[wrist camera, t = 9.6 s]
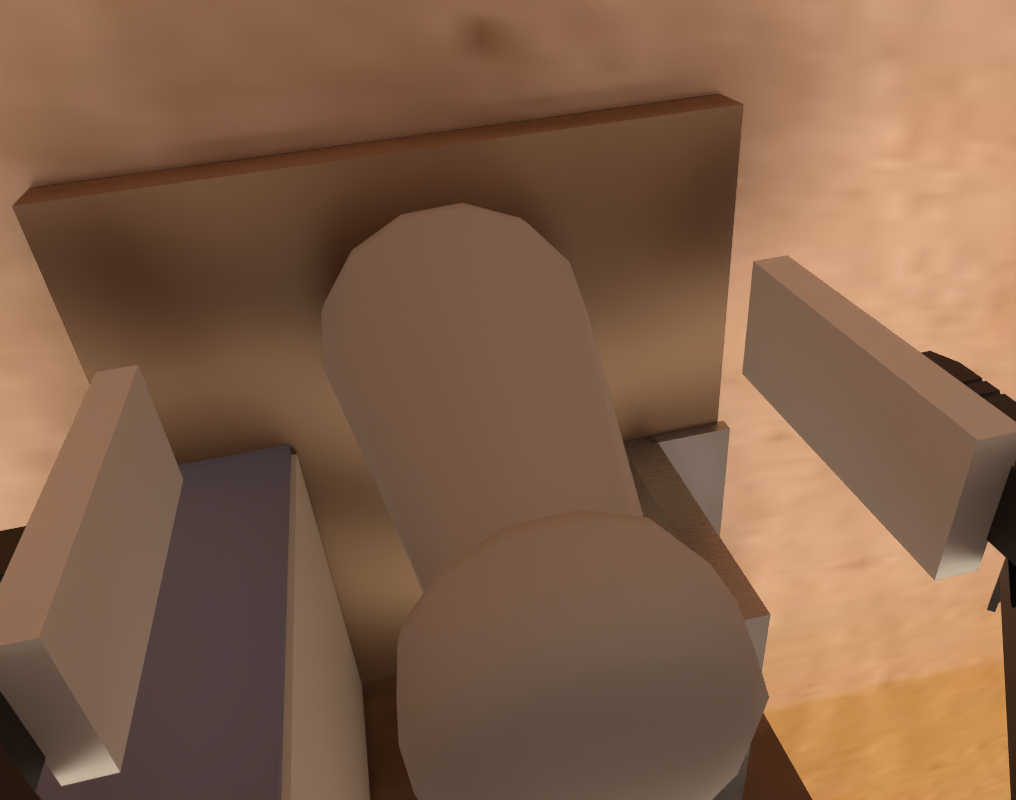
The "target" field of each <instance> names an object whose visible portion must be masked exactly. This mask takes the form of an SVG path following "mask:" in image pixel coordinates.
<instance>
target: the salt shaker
mask: <svg viewBox="0 0 1016 800" xmlns="http://www.w3.org/2000/svg"><path fill="white" fill-rule="evenodd" d="M321 318H322V346H323V368H324V371H325V373H326V375H327V377H328V379H329V382H330V384H331V386H332V388H333V390H334V393H335V395H336V397H337V399H338V401H339V404H340V406H341V408H342V410H343V412H344V415H345V417H346V419H347V421H348V423H349V426H350V428H351V430H352V432H353V434H354V437H355V439H356V441H357V443H358V445H359V448H360V450H361V452H362V454H363V456H364V459H365V461H366V463H367V465H368V467H369V470H370V472H371V474H372V476H373V478H374V481H375V483H376V485H377V487H378V489H379V492H380V494H381V496H382V498H383V500H384V503H385V505H386V507H387V509H388V511H389V514H390V516H391V518H392V520H393V522H394V525H395V527H396V529H397V531H398V533H399V536H400V538H401V541H402V543H403V546H404V548H405V551H406V553H407V555H408V558H409V560H410V563H411V565H412V568H413V570H414V573H415V575H416V578H417V580H418V582H419V585H420V587H421V590H422V592H423V595H422V596H421V598H420V599H419V601H418V602H417V603H416V605H415V606H414V608H413V609H412V611H411V612H410V613H409V615H408V616H407V618H406V619H405V620H404V623H403V626H402V629H401V633H400V636H399V639H398V644H397V693H396V699H397V720H398V741H399V747H400V751H401V754H402V757H403V760H404V763H405V766H406V770H407V773H408V776H409V779H410V782H411V785H412V789H413V792H414V795H415V796H416V797H417V799H418V800H712V799H713V798H714V797H715V796H716V795H717V794H718V793H719V792H720V791H721V790H722V789H723V788H724V787H725V786H726V785H727V784H728V783H729V782H730V781H731V780H732V779H733V778H734V777H735V776H736V775H737V774H738V772H739V770H740V767H741V765H742V762H743V760H744V758H745V755H746V753H747V751H748V748H749V746H750V744H751V741H752V739H753V736H754V734H755V732H756V729H757V727H758V724H759V722H760V719H761V716H762V714H763V711H764V709H765V706H766V704H767V701H768V699H769V696H768V692H767V689H766V685H765V682H764V679H763V675H762V672H761V668H760V665H759V661H758V658H757V655H756V651H755V649H754V646H753V643H752V640H751V638H750V635H749V632H748V629H747V627H746V624H745V621H744V619H743V616H742V613H741V610H740V608H739V605H738V602H737V601H736V599H735V598H734V596H733V595H732V594H731V592H730V591H729V589H728V588H727V586H726V585H725V584H724V582H723V581H722V579H721V578H720V577H719V575H718V574H717V572H716V571H715V570H714V568H713V567H712V565H711V564H710V563H709V562H707V561H706V560H705V559H703V558H702V557H701V556H699V555H698V554H697V553H695V552H694V551H692V550H691V549H690V548H688V547H687V546H686V545H684V544H683V543H682V542H680V541H679V540H678V539H676V538H675V537H674V536H672V535H671V534H669V533H668V532H667V531H665V530H664V529H663V528H661V527H660V526H659V525H657V524H656V523H655V522H653V521H652V520H651V519H649V518H646V517H644V516H643V513H642V509H641V506H640V502H639V498H638V495H637V491H636V487H635V484H634V480H633V476H632V473H631V469H630V465H629V462H628V458H627V455H626V451H625V447H624V444H623V440H622V436H621V433H620V429H619V425H618V422H617V418H616V414H615V411H614V407H613V404H612V400H611V396H610V393H609V389H608V385H607V382H606V378H605V374H604V371H603V367H602V363H601V360H600V356H599V353H598V349H597V345H596V342H595V338H594V334H593V331H592V327H591V323H590V320H589V316H588V313H587V310H586V307H585V304H584V301H583V298H582V296H581V293H580V290H579V287H578V284H577V281H576V279H575V276H574V273H573V270H572V267H571V265H570V262H569V261H568V260H567V259H566V258H565V257H564V256H563V255H562V254H560V253H559V252H558V251H557V250H556V249H555V248H554V247H553V246H552V245H551V244H550V243H549V242H548V241H546V240H545V239H544V238H543V237H542V236H541V235H540V234H539V233H538V232H537V231H536V230H535V229H534V228H532V227H531V226H530V225H529V224H528V223H527V222H525V221H524V220H522V219H521V218H519V217H515V216H511V215H507V214H504V213H500V212H496V211H492V210H488V209H484V208H481V207H477V206H473V205H469V204H465V203H458V204H453V205H447V206H442V207H437V208H432V209H427V210H421V211H416V212H411V213H406V214H401V215H400V216H398V217H397V218H395V219H394V220H393V221H391V222H390V223H389V224H387V225H386V226H385V227H383V228H382V229H380V230H379V231H378V232H376V233H375V234H374V235H372V236H371V237H369V238H368V239H367V240H365V241H364V242H363V243H361V244H360V245H358V246H357V247H356V248H354V249H353V250H352V251H351V252H350V254H349V256H348V258H347V260H346V262H345V264H344V266H343V268H342V270H341V272H340V274H339V276H338V277H337V279H336V281H335V283H334V285H333V287H332V289H331V291H330V293H329V295H328V297H327V299H326V301H325V303H324V306H323V309H322V312H321Z"/></svg>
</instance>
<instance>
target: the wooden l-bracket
mask: <svg viewBox="0 0 1016 800" xmlns="http://www.w3.org/2000/svg"><path fill="white" fill-rule="evenodd" d="M742 113H743V104H741V103H739V102H737V101H735V100H732V99H730V98H728V97H726V96H724V95H721V94H718V95H711V96H703V97H696V98H689V99H681V100H674V101H667V102H659V103H652V104H645V105H637V106H630V107H623V108H615V109H608V110H601V111H593V112H586V113H579V114H571V115H564V116H557V117H549V118H542V119H535V120H527V121H520V122H513V123H505V124H498V125H491V126H483V127H476V128H469V129H461V130H454V131H447V132H439V133H432V134H425V135H417V136H410V137H403V138H395V139H388V140H381V141H373V142H366V143H359V144H351V145H344V146H337V147H329V148H322V149H315V150H307V151H300V152H293V153H285V154H278V155H271V156H263V157H256V158H249V159H241V160H234V161H227V162H219V163H212V164H205V165H197V166H190V167H183V168H175V169H168V170H161V171H153V172H146V173H139V174H131V175H124V176H117V177H110V178H102V179H95V180H88V181H80V182H73V183H66V184H58V185H51V186H44V187H36V188H29V189H28V190H27V191H26V192H25V193H24V194H23V195H22V196H21V197H20V198H19V199H18V200H17V201H16V202H15V204H14V205H13V206H12V207H13V209H14V211H15V214H16V216H17V218H18V221H19V223H20V225H21V227H22V230H23V232H24V234H25V237H26V239H27V241H28V244H29V246H30V248H31V250H32V253H33V255H34V257H35V260H36V262H37V264H38V266H39V269H40V271H41V273H42V276H43V278H44V280H45V282H46V285H47V287H48V289H49V292H50V294H51V296H52V298H53V301H54V303H55V305H56V308H57V310H58V312H59V314H60V317H61V319H62V321H63V324H64V326H65V328H66V331H67V333H68V335H69V337H70V340H71V342H72V344H73V347H74V349H75V351H76V353H77V356H78V358H79V360H80V363H81V365H82V367H83V369H84V372H85V374H86V376H87V379H88V381H89V383H90V384H91V382H92V379H93V377H94V375H95V373H96V372H99V371H104V370H110V369H116V368H122V367H128V366H134V365H139V367H140V370H141V372H142V375H143V378H144V380H145V383H146V385H147V388H148V390H149V393H150V395H151V398H152V401H153V403H154V406H155V408H156V411H157V413H158V416H159V419H160V421H161V424H162V426H163V429H164V431H165V434H166V436H167V439H168V442H169V444H170V447H171V449H172V452H173V454H174V457H175V460H176V462H177V465H181V464H187V463H192V462H197V461H203V460H208V459H214V458H219V457H224V456H230V455H235V454H240V453H246V452H251V451H256V450H262V449H267V448H273V447H278V446H283V445H290V449H291V452H292V455H293V454H297V456H298V460H299V463H300V467H301V471H302V474H303V478H304V481H305V485H306V488H307V492H308V495H309V499H310V502H311V506H312V509H313V513H314V516H315V520H316V524H317V527H318V531H319V534H320V538H321V541H322V545H323V548H324V552H325V555H326V559H327V562H328V566H329V569H330V573H331V577H332V580H333V584H334V587H335V591H336V594H337V598H338V601H339V605H340V608H341V612H342V615H343V619H344V622H345V626H346V630H347V633H348V637H349V640H350V644H351V647H352V651H353V654H354V658H355V661H356V665H357V668H358V672H359V676H360V679H361V683H362V691H363V705H364V719H365V733H366V747H367V761H368V775H369V789H370V800H418V799H417V797H416V796H415V795H414V792H413V789H412V785H411V782H410V779H409V776H408V773H407V770H406V766H405V763H404V760H403V757H402V754H401V751H400V747H399V741H398V720H397V699H396V693H397V644H398V639H399V636H400V633H401V629H402V626H403V623H404V620H405V619H406V618H407V616H408V615H409V613H410V612H411V611H412V609H413V608H414V606H415V605H416V603H417V602H418V601H419V599H420V598H421V596H422V595H423V592H422V590H421V587H420V585H419V582H418V580H417V578H416V575H415V573H414V570H413V568H412V565H411V563H410V560H409V558H408V555H407V553H406V551H405V548H404V546H403V543H402V541H401V538H400V536H399V533H398V531H397V529H396V527H395V525H394V522H393V520H392V518H391V516H390V514H389V511H388V509H387V507H386V505H385V503H384V500H383V498H382V496H381V494H380V492H379V489H378V487H377V485H376V483H375V481H374V478H373V476H372V474H371V472H370V470H369V467H368V465H367V463H366V461H365V459H364V456H363V454H362V452H361V450H360V448H359V445H358V443H357V441H356V439H355V437H354V434H353V432H352V430H351V428H350V426H349V423H348V421H347V419H346V417H345V415H344V412H343V410H342V408H341V406H340V404H339V401H338V399H337V397H336V395H335V393H334V390H333V388H332V386H331V384H330V382H329V379H328V377H327V375H326V373H325V371H324V368H323V346H322V318H321V312H322V309H323V306H324V303H325V301H326V299H327V297H328V295H329V293H330V291H331V289H332V287H333V285H334V283H335V281H336V279H337V277H338V276H339V274H340V272H341V270H342V268H343V266H344V264H345V262H346V260H347V258H348V256H349V254H350V252H351V251H352V250H353V249H354V248H356V247H357V246H358V245H360V244H361V243H363V242H364V241H365V240H367V239H368V238H369V237H371V236H372V235H374V234H375V233H376V232H378V231H379V230H380V229H382V228H383V227H385V226H386V225H387V224H389V223H390V222H391V221H393V220H394V219H395V218H397V217H398V216H400V215H401V214H406V213H411V212H416V211H421V210H427V209H432V208H437V207H442V206H447V205H453V204H458V203H465V204H469V205H473V206H477V207H481V208H484V209H488V210H492V211H496V212H500V213H504V214H507V215H511V216H515V217H519V218H521V219H522V220H524V221H525V222H527V223H528V224H529V225H530V226H531V227H532V228H534V229H535V230H536V231H537V232H538V233H539V234H540V235H541V236H542V237H543V238H544V239H545V240H546V241H548V242H549V243H550V244H551V245H552V246H553V247H554V248H555V249H556V250H557V251H558V252H559V253H560V254H562V255H563V256H564V257H565V258H566V259H567V260H568V261H569V262H570V265H571V267H572V270H573V273H574V276H575V279H576V281H577V284H578V287H579V290H580V293H581V296H582V298H583V301H584V304H585V307H586V310H587V313H588V316H589V320H590V323H591V327H592V331H593V334H594V338H595V342H596V345H597V349H598V353H599V356H600V360H601V363H602V367H603V371H604V374H605V378H606V382H607V385H608V389H609V393H610V396H611V400H612V404H613V407H614V411H615V414H616V418H617V422H618V425H619V429H620V433H621V436H622V440H623V441H624V440H629V439H634V438H639V437H644V436H649V435H655V434H660V433H665V432H670V431H675V430H680V429H685V428H690V427H695V426H700V425H705V424H710V423H716V422H717V420H718V408H719V395H720V383H721V371H722V359H723V346H724V334H725V322H726V309H727V297H728V285H729V273H730V260H731V248H732V236H733V224H734V211H735V199H736V187H737V174H738V162H739V150H740V138H741V125H742ZM742 800H812V798H811V797H810V795H809V793H808V791H807V789H806V788H805V786H804V784H803V782H802V781H801V779H800V777H799V775H798V774H797V772H796V770H795V768H794V766H793V765H792V763H791V761H790V759H789V758H788V756H787V754H786V752H785V751H784V749H783V747H782V745H781V743H780V742H779V740H778V738H777V736H776V735H775V733H774V731H773V729H772V728H771V726H770V724H769V722H768V720H767V719H766V717H765V715H764V713H763V714H762V716H761V719H760V722H759V724H758V727H757V729H756V732H755V734H754V736H753V739H752V741H751V745H750V752H749V759H748V765H747V772H746V779H745V785H744V792H743V798H742Z"/></svg>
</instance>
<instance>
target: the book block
mask: <svg viewBox="0 0 1016 800" xmlns="http://www.w3.org/2000/svg"><path fill="white" fill-rule="evenodd" d="M178 467H179V470H180V472H181V475H182V477H183V483H182V487H181V492H180V497H179V501H178V506H177V511H176V515H175V520H174V525H173V529H172V534H171V539H170V543H169V548H168V552H167V557H166V562H165V566H164V571H163V576H162V580H161V585H160V590H159V594H158V599H157V604H156V608H155V613H154V618H153V622H152V627H151V632H150V636H149V641H148V646H147V650H146V655H145V659H144V664H143V669H142V673H141V678H140V683H139V687H138V692H137V697H136V701H135V706H134V711H133V715H132V720H131V725H130V729H129V734H128V739H127V743H126V748H125V753H124V757H123V762H122V767H121V771H120V772H119V773H115V774H111V775H107V776H102V777H98V778H94V779H90V780H85V781H81V782H77V783H73V784H68V785H64V786H61V785H60V783H59V782H58V780H57V779H56V777H55V776H54V775H53V773H52V772H51V770H50V769H49V767H48V766H47V764H46V763H45V762H44V765H43V769H42V772H41V775H40V778H39V782H38V785H37V788H36V793H37V794H38V796H39V797H40V798H41V800H370V789H369V775H368V761H367V747H366V733H365V719H364V705H363V691H362V683H361V679H360V676H359V672H358V668H357V665H356V661H355V658H354V654H353V651H352V647H351V644H350V640H349V637H348V633H347V630H346V626H345V622H344V619H343V615H342V612H341V608H340V605H339V601H338V598H337V594H336V591H335V587H334V584H333V580H332V577H331V573H330V569H329V566H328V562H327V559H326V555H325V552H324V548H323V545H322V541H321V538H320V534H319V531H318V527H317V524H316V520H315V516H314V513H313V509H312V506H311V502H310V499H309V495H308V492H307V488H306V485H305V481H304V478H303V474H302V471H301V467H300V463H299V460H298V456H297V454H293V455H292V452H291V449H290V445H283V446H278V447H273V448H267V449H262V450H256V451H251V452H246V453H240V454H235V455H230V456H224V457H219V458H214V459H208V460H203V461H197V462H192V463H187V464H181V465H178Z"/></svg>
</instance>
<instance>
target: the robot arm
mask: <svg viewBox="0 0 1016 800" xmlns="http://www.w3.org/2000/svg"><path fill="white" fill-rule="evenodd" d="M742 374H743V375H744V376H745V377H746V378H747V379H748V380H749V381H750V382H751V383H752V385H753V386H754V387H755V388H756V389H757V390H758V391H759V392H760V393H761V394H762V395H763V396H764V397H765V399H766V400H767V401H768V402H769V403H770V404H771V405H772V406H773V407H774V408H775V409H776V410H777V411H778V413H779V414H780V415H781V416H782V417H783V418H784V419H785V420H786V421H787V422H788V423H789V424H790V425H791V426H792V428H793V429H794V430H795V431H796V432H797V433H798V434H799V435H800V436H801V437H802V438H803V439H804V440H805V442H806V443H807V444H808V445H809V446H810V447H811V448H812V449H813V450H814V451H815V452H816V453H817V454H818V456H819V457H820V458H821V459H822V460H823V461H824V462H825V463H826V464H827V465H828V466H829V467H830V468H831V469H832V471H833V472H834V473H835V474H836V475H837V476H838V477H839V478H840V479H841V480H842V481H843V482H844V483H845V485H846V486H847V487H848V488H849V489H850V490H851V491H852V492H853V493H854V494H855V495H856V496H857V497H858V499H859V500H860V501H861V502H862V503H863V504H864V505H865V506H866V507H867V508H868V509H869V510H870V511H871V512H872V514H873V515H874V516H875V517H876V518H877V519H878V520H879V521H880V522H881V523H882V524H883V525H884V526H885V528H886V529H887V530H888V531H889V532H890V533H891V534H892V535H893V536H894V537H895V538H896V539H897V540H898V541H899V543H900V544H901V545H902V546H903V547H904V548H905V549H906V550H907V551H908V552H909V553H910V554H911V555H912V557H913V558H914V559H915V560H916V561H917V562H918V563H919V564H920V565H921V566H922V567H923V568H924V569H925V571H926V572H927V573H928V574H929V575H930V576H931V577H932V578H933V579H934V580H939V579H943V578H947V577H952V576H956V575H960V574H964V573H968V572H973V571H977V570H978V569H979V566H980V563H981V560H982V557H983V554H984V551H985V548H986V546H987V543H988V541H989V542H990V543H991V544H992V545H993V546H994V547H995V548H996V549H997V550H998V551H999V552H1001V553H1002V554H1003V555H1004V556H1005V557H1006V558H1005V561H1004V564H1003V566H1002V569H1001V572H1000V574H999V577H998V580H997V583H996V585H995V588H994V591H993V593H992V596H991V599H990V602H989V605H988V608H987V610H989V611H993V612H995V611H996V608H997V605H998V603H999V602H1001V614H1002V633H1003V652H1004V672H1005V691H1006V710H1007V730H1008V749H1009V768H1010V788H1011V800H1016V402H1015V401H1014V400H1013V399H1011V398H1010V397H1008V396H1007V395H1005V394H1000V390H998V389H997V388H995V387H994V386H993V385H991V384H990V383H988V382H987V381H984V382H983V381H982V378H981V377H980V376H978V375H977V374H975V373H974V372H973V371H971V370H970V369H968V368H967V367H965V366H964V365H963V364H961V363H960V362H957V361H954V360H952V359H949V358H947V357H944V356H942V355H939V354H937V353H934V352H932V351H927V352H922V353H920V352H919V351H918V350H916V349H915V348H914V347H912V346H911V345H909V344H908V343H907V342H905V341H904V340H903V339H901V338H900V337H899V336H897V335H896V334H894V333H893V332H892V331H890V330H889V329H888V328H886V327H885V326H883V325H882V324H881V323H879V322H878V321H877V320H875V319H874V318H872V317H871V316H870V315H868V314H867V313H866V312H864V311H863V310H861V309H860V308H859V307H857V306H856V305H855V304H853V303H852V302H850V301H849V300H848V299H846V298H845V297H844V296H842V295H841V294H839V293H838V292H837V291H835V290H834V289H833V288H831V287H830V286H829V285H827V284H826V283H824V282H823V281H822V280H820V279H819V278H818V277H816V276H815V275H813V274H812V273H811V272H809V271H808V270H807V269H805V268H804V267H802V266H801V265H800V264H798V263H797V262H796V261H794V260H793V259H791V258H790V257H789V256H782V257H776V258H770V259H764V260H758V261H753V271H752V281H751V292H750V302H749V312H748V322H747V332H746V342H745V352H744V362H743V373H742ZM182 483H183V477H182V475H181V472H180V470H179V467H178V465H177V462H176V460H175V457H174V454H173V452H172V449H171V447H170V444H169V442H168V439H167V436H166V434H165V431H164V429H163V426H162V424H161V421H160V419H159V416H158V413H157V411H156V408H155V406H154V403H153V401H152V398H151V395H150V393H149V390H148V388H147V385H146V383H145V380H144V378H143V375H142V372H141V370H140V367H139V365H134V366H128V367H122V368H116V369H110V370H104V371H99V372H96V373H95V375H94V377H93V379H92V382H91V384H90V386H89V388H88V390H87V393H86V395H85V397H84V399H83V401H82V404H81V406H80V408H79V410H78V413H77V415H76V417H75V419H74V421H73V424H72V426H71V428H70V430H69V432H68V435H67V437H66V439H65V441H64V444H63V446H62V448H61V450H60V452H59V455H58V457H57V459H56V461H55V463H54V466H53V468H52V470H51V472H50V475H49V477H48V479H47V481H46V483H45V486H44V488H43V490H42V492H41V494H40V497H39V499H38V501H37V503H36V506H35V508H34V510H33V512H32V514H31V517H30V519H29V521H28V523H27V525H26V526H24V527H19V528H13V529H8V530H3V531H0V800H41V798H40V797H39V796H38V794H37V793H36V788H37V785H38V782H39V778H40V775H41V772H42V769H43V765H44V762H45V763H46V764H47V766H48V767H49V769H50V770H51V772H52V773H53V775H54V776H55V777H56V779H57V780H58V782H59V783H60V785H61V786H64V785H68V784H73V783H77V782H81V781H85V780H90V779H94V778H98V777H102V776H107V775H111V774H115V773H119V772H120V771H121V767H122V762H123V757H124V753H125V748H126V743H127V739H128V734H129V729H130V725H131V720H132V715H133V711H134V706H135V701H136V697H137V692H138V687H139V683H140V678H141V673H142V669H143V664H144V659H145V655H146V650H147V646H148V641H149V636H150V632H151V627H152V622H153V618H154V613H155V608H156V604H157V599H158V594H159V590H160V585H161V580H162V576H163V571H164V566H165V562H166V557H167V552H168V548H169V543H170V539H171V534H172V529H173V525H174V520H175V515H176V511H177V506H178V501H179V497H180V492H181V487H182Z"/></svg>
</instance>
